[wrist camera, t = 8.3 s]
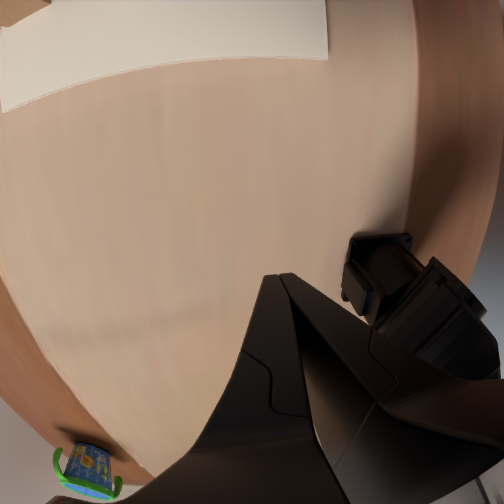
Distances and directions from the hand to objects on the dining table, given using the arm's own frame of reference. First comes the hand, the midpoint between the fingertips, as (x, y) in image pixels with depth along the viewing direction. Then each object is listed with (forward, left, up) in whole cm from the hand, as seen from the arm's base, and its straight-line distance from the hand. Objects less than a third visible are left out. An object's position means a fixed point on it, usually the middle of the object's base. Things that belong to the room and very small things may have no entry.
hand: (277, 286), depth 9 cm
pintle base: (+6, -16, -13) cm, 22 cm away
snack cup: (+32, +47, -13) cm, 59 cm away
